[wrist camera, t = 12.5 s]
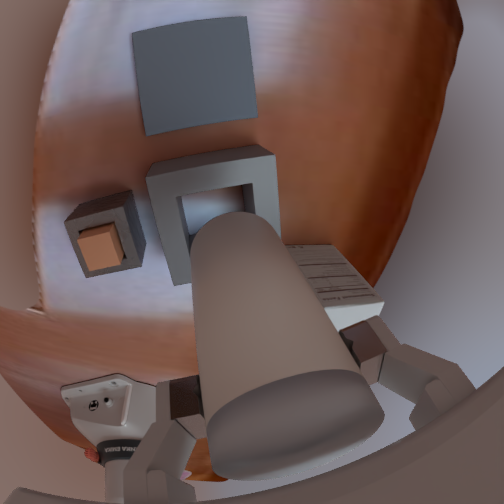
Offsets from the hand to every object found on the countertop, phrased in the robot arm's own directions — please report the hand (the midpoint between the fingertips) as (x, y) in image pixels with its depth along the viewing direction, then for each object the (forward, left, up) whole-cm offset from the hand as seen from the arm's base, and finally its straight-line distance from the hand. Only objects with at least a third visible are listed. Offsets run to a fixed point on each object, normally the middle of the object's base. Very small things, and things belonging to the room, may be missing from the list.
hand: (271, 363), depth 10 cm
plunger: (-12, -3, -23) cm, 26 cm away
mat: (0, +11, -24) cm, 26 cm away
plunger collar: (-12, -3, -24) cm, 26 cm away
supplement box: (+10, -14, -24) cm, 29 cm away
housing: (0, -3, -24) cm, 24 cm away
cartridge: (0, 0, -8) cm, 8 cm away
